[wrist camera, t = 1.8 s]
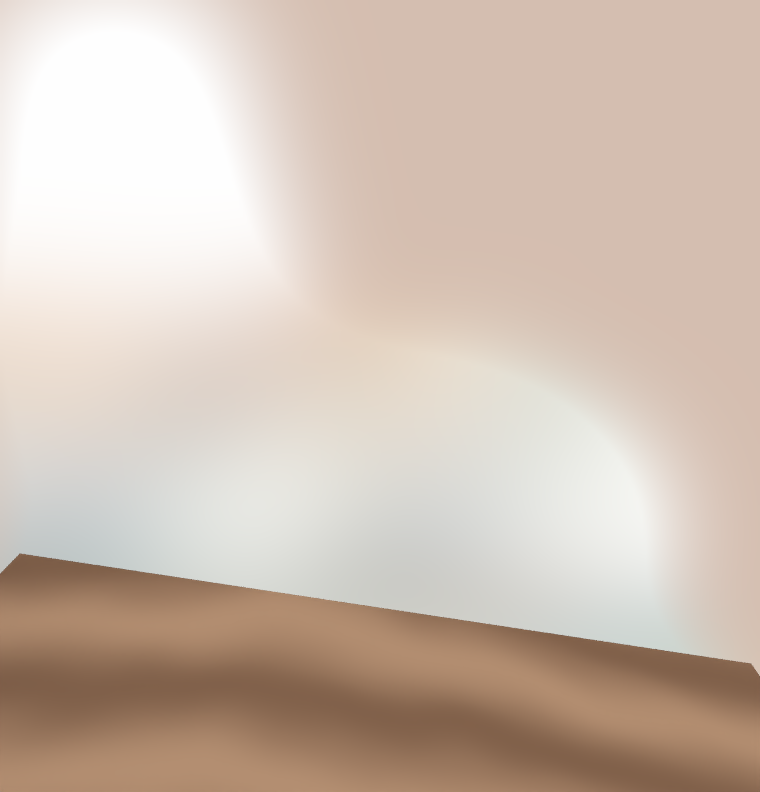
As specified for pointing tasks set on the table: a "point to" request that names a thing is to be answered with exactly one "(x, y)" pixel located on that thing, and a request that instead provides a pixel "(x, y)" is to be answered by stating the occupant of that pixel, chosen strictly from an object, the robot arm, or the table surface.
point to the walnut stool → (341, 697)
